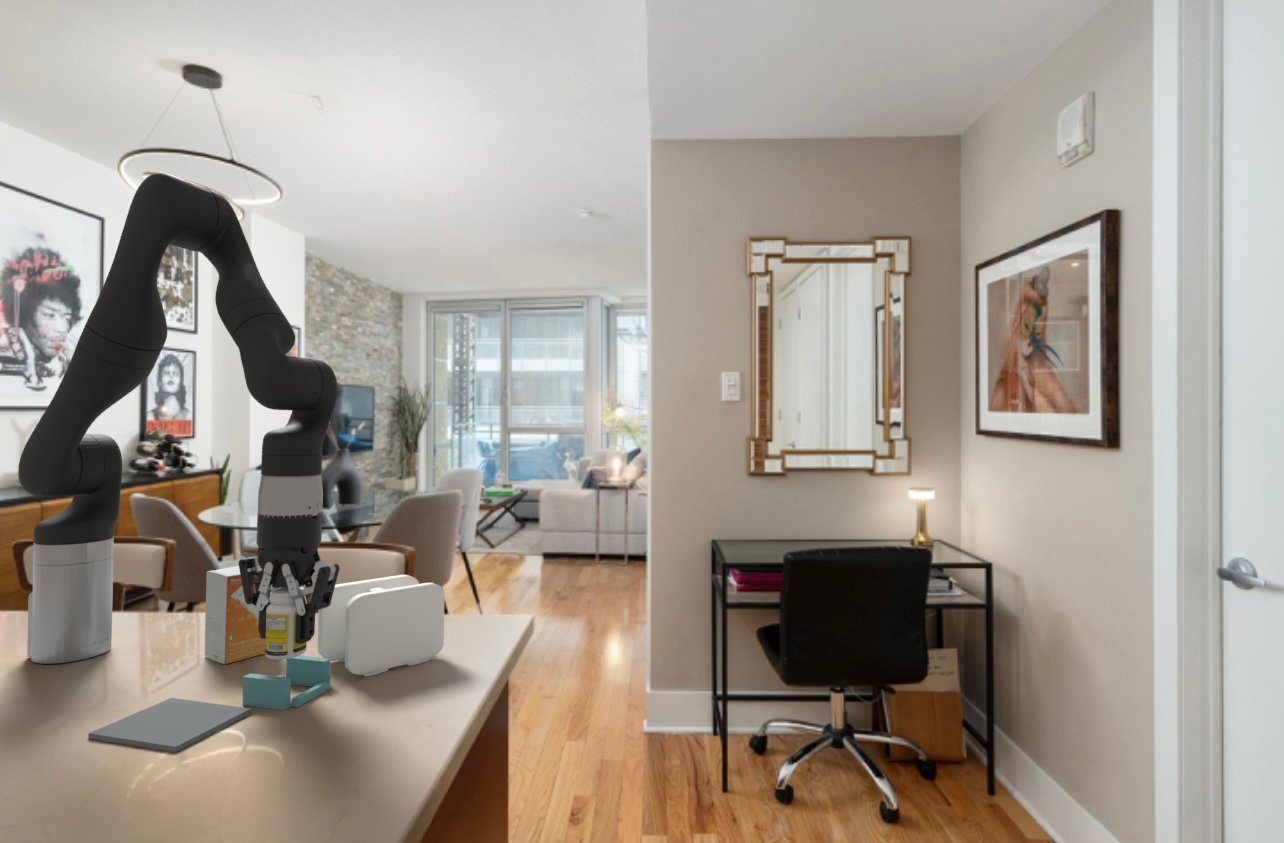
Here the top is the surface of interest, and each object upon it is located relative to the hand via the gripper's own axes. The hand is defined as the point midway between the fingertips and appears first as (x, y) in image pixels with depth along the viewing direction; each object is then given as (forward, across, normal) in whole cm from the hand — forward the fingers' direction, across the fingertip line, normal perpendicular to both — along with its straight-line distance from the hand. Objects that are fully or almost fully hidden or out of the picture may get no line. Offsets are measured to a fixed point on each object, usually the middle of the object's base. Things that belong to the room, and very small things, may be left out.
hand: (286, 639), depth 87 cm
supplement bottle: (+2, 0, 0) cm, 2 cm away
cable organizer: (+7, +4, +14) cm, 16 cm away
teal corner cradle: (+7, 0, 0) cm, 7 cm away
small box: (+8, -18, +11) cm, 22 cm away
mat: (+7, -6, -11) cm, 14 cm away
